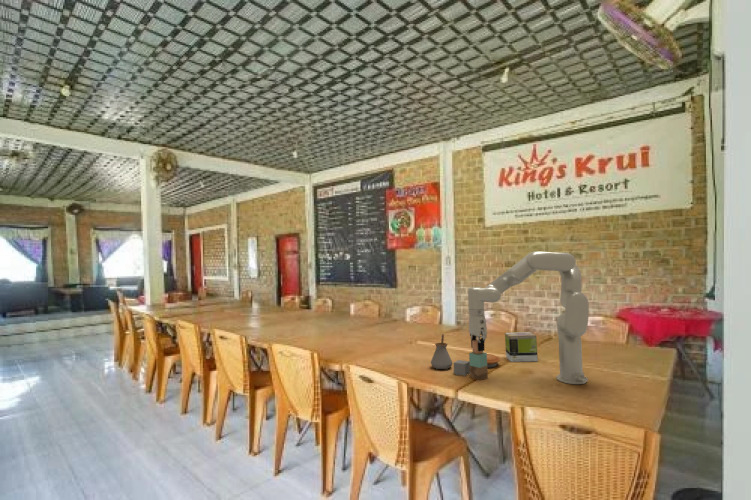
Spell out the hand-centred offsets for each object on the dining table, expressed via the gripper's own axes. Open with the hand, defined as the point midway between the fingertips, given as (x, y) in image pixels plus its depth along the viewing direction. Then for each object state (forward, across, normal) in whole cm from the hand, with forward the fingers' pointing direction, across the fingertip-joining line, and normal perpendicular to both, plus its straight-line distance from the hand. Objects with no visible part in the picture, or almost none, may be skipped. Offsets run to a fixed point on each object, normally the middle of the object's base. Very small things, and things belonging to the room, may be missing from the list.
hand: (477, 348), depth 185 cm
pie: (+14, +18, -14) cm, 27 cm away
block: (+14, +8, +5) cm, 17 cm away
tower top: (+8, 0, 0) cm, 8 cm away
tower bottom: (+14, 0, 0) cm, 14 cm away
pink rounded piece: (+2, 0, 0) cm, 2 cm away
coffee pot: (+14, +25, +8) cm, 30 cm away
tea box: (+14, +20, -38) cm, 45 cm away
